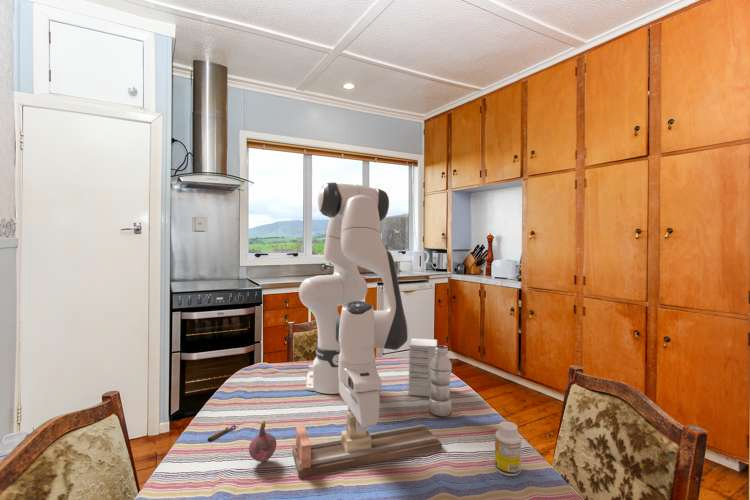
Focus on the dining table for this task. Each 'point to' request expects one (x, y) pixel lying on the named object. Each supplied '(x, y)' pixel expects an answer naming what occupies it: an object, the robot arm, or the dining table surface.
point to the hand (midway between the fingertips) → (356, 427)
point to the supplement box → (420, 366)
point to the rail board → (382, 448)
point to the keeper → (354, 436)
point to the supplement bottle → (508, 449)
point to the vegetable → (262, 445)
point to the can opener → (221, 433)
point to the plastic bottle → (440, 382)
